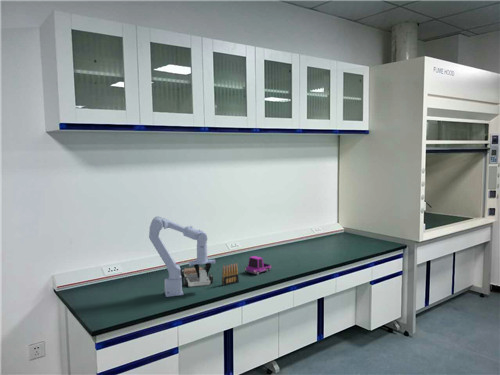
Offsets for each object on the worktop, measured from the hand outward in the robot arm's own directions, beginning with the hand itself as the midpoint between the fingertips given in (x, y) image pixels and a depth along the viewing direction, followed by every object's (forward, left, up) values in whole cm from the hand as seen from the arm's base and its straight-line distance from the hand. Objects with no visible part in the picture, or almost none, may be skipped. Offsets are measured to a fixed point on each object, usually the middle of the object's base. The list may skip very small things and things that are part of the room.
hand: (202, 277), depth 228 cm
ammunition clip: (+18, +8, -9) cm, 21 cm away
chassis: (0, +22, -8) cm, 24 cm away
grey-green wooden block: (0, 0, -2) cm, 2 cm away
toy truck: (+41, +25, -9) cm, 49 cm away
